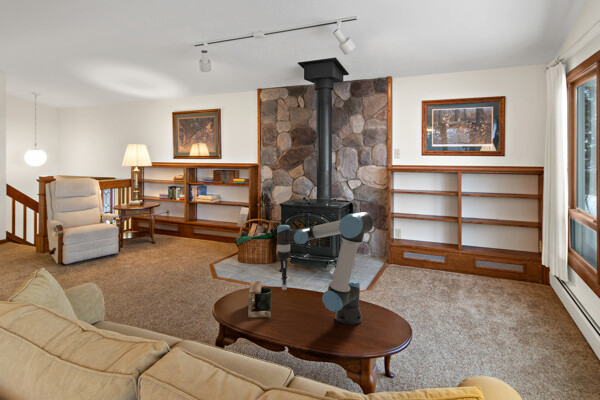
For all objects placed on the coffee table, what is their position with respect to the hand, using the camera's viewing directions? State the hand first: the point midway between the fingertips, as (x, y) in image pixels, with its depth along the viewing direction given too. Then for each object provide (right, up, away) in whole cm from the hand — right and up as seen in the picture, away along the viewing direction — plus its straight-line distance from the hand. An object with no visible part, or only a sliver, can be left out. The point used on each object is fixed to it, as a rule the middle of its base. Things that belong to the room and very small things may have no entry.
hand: (284, 289), depth 216 cm
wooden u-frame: (-16, -13, 0) cm, 20 cm away
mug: (-13, -13, 0) cm, 19 cm away
